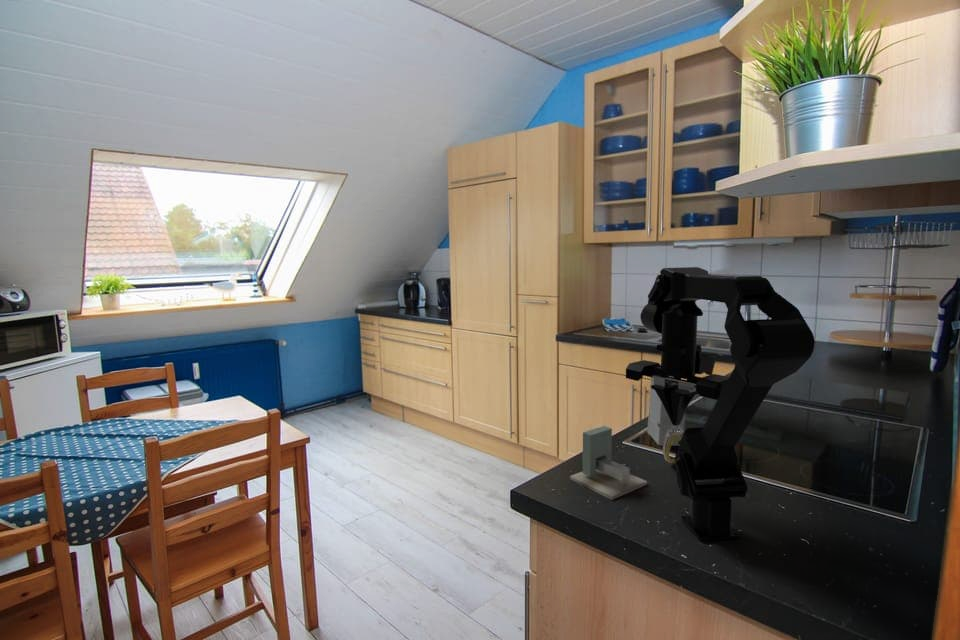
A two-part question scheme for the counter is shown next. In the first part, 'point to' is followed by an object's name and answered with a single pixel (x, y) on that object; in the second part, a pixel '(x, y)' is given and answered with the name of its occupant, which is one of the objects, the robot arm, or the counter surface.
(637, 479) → the guide board
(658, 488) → the counter surface
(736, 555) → the counter surface
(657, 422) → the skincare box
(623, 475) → the grey square-edged bar
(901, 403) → the counter surface
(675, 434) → the ring
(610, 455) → the sleeve collar
